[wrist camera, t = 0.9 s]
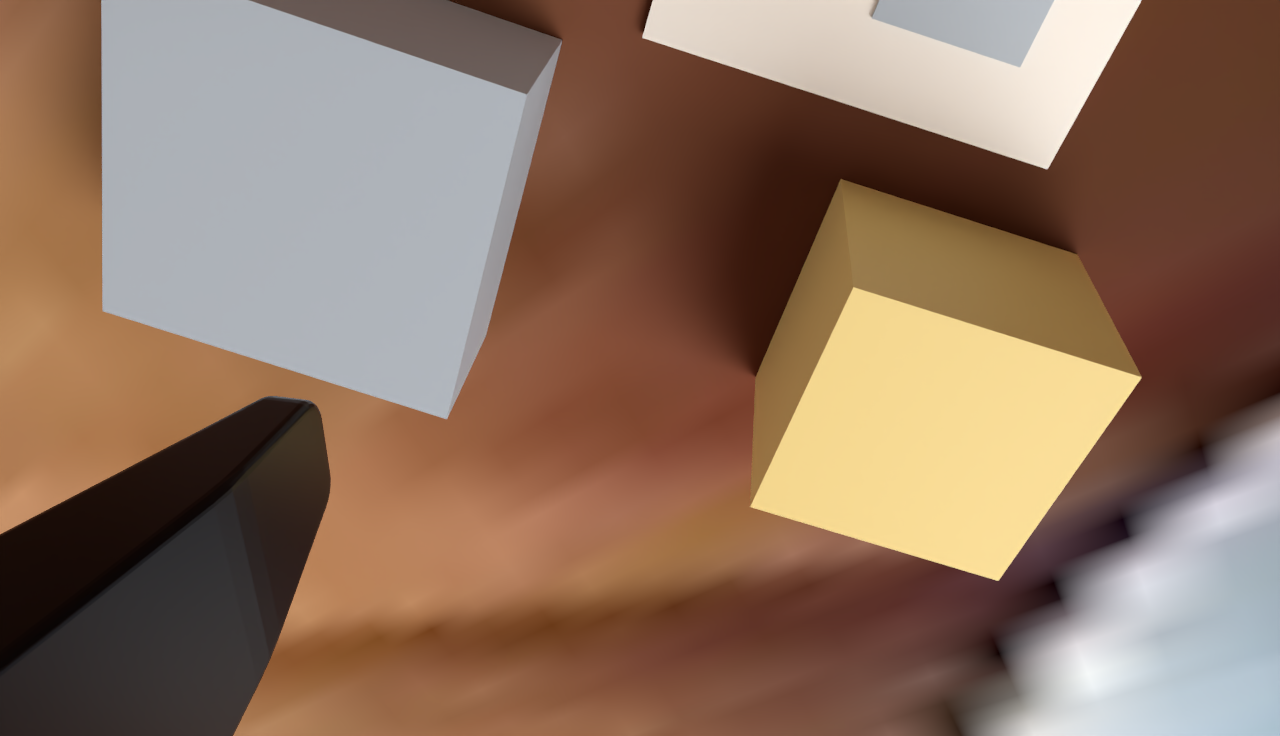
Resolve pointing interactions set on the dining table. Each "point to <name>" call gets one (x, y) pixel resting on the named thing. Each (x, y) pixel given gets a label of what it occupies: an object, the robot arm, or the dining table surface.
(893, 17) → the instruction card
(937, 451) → the mustard block
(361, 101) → the base block
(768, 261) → the dining table surface
